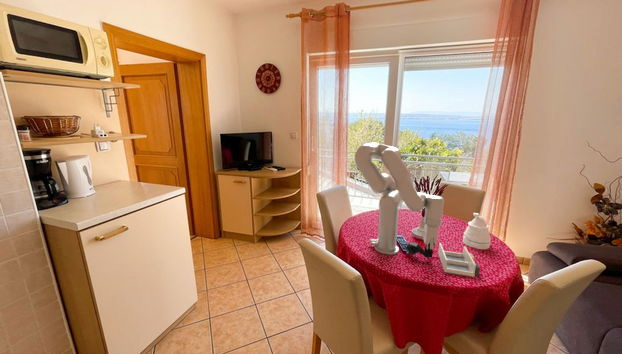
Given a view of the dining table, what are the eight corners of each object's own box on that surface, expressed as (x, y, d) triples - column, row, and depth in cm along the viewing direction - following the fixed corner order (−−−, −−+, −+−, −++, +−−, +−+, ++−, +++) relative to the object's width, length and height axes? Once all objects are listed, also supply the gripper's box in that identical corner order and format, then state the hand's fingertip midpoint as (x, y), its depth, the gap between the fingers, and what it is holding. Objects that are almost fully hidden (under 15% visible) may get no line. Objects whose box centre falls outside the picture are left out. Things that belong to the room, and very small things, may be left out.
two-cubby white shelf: (444, 272, 114) (446, 260, 113) (438, 253, 130) (439, 243, 129) (473, 277, 110) (475, 264, 109) (463, 257, 127) (465, 246, 125)
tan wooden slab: (470, 265, 120) (471, 257, 119) (467, 260, 124) (468, 252, 124) (473, 265, 119) (474, 258, 119) (470, 260, 124) (471, 253, 123)
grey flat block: (475, 275, 112) (477, 267, 111) (472, 269, 116) (473, 261, 116) (478, 275, 111) (480, 267, 111) (475, 269, 116) (476, 262, 115)
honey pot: (463, 246, 139) (467, 215, 135) (462, 237, 150) (465, 209, 146) (491, 251, 133) (496, 220, 129) (487, 241, 144) (492, 212, 140)
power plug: (430, 263, 121) (411, 244, 124) (419, 268, 126) (401, 250, 129) (433, 256, 125) (415, 238, 128) (422, 262, 130) (405, 244, 133)
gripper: (422, 214, 128) (418, 246, 132) (426, 226, 113) (421, 262, 117) (438, 216, 126) (434, 249, 130) (444, 228, 111) (439, 265, 115)
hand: (428, 255), depth 124 cm, fingers closed on power plug, 2 cm apart
